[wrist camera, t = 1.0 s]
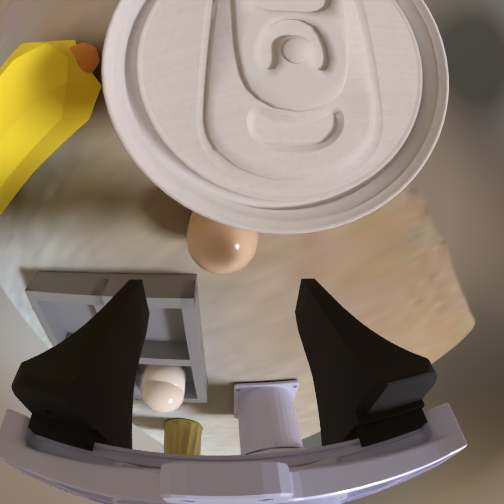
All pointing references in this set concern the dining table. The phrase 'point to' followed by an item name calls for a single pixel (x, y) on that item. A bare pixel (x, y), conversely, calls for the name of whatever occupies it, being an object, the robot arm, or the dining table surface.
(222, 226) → the brown egg
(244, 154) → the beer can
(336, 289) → the dining table surface
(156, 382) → the cream egg
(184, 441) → the vase
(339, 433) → the robot arm
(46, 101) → the yellow banana
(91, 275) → the gray compartment tray
